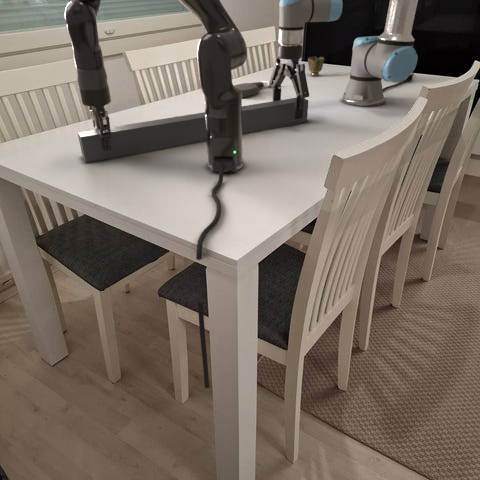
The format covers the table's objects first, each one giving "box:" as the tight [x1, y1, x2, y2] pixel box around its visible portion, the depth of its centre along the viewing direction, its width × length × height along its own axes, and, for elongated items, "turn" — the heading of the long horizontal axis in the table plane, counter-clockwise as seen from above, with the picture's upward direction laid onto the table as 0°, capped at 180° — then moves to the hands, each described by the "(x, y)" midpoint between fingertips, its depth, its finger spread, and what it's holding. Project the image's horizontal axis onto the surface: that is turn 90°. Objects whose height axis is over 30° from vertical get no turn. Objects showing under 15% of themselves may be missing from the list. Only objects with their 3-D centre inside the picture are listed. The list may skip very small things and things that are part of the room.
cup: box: [307, 56, 325, 77], centre depth 209 cm, size 8×7×8 cm
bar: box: [77, 97, 309, 164], centre depth 137 cm, size 74×5×7 cm, turn 117°
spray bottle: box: [233, 80, 272, 99], centre depth 187 cm, size 3×11×24 cm
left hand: (105, 147), depth 126 cm, fingers closed on bar, 4 cm apart
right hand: (287, 113), depth 149 cm, fingers open, 13 cm apart
